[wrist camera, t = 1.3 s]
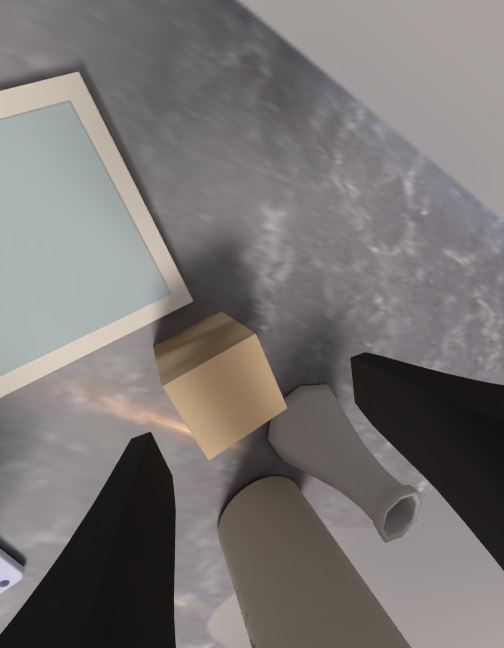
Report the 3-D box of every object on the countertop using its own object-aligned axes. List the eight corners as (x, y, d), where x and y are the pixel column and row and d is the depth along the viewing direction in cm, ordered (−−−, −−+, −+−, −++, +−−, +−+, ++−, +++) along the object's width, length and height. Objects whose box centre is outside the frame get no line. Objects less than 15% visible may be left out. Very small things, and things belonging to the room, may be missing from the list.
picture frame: (-9, 398, 15) (-17, 406, 14) (-233, 161, 11) (-263, 153, 10) (191, 299, 18) (193, 301, 17) (81, 81, 14) (78, 70, 13)
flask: (259, 400, 22) (345, 500, 13) (333, 370, 24) (449, 438, 15) (272, 470, 24) (354, 596, 15) (339, 436, 27) (443, 529, 18)
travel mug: (293, 458, 25) (587, 833, 9) (302, 522, 27) (543, 906, 11) (208, 499, 22) (404, 1134, 6) (226, 566, 25) (400, 1145, 9)
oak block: (187, 404, 20) (208, 460, 14) (152, 346, 18) (162, 386, 13) (247, 368, 21) (287, 408, 16) (221, 310, 19) (255, 333, 14)
